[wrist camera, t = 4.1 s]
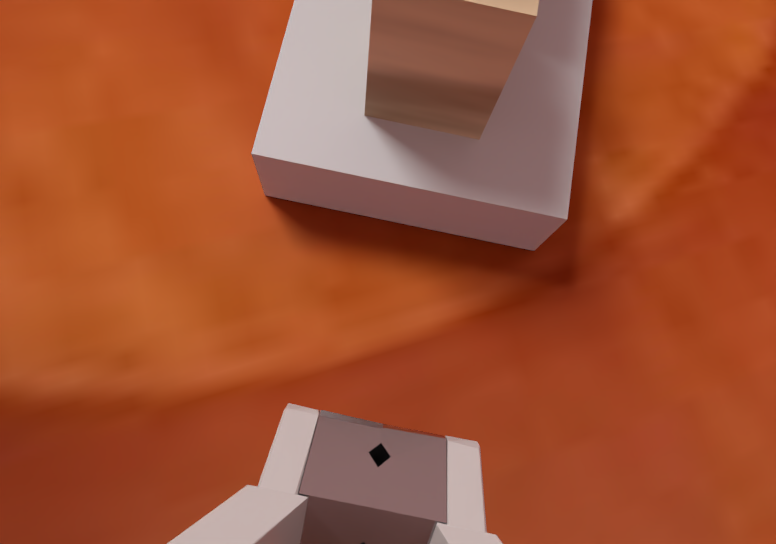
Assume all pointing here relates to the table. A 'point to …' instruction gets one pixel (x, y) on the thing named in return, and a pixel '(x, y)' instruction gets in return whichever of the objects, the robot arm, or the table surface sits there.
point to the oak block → (443, 60)
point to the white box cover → (424, 132)
